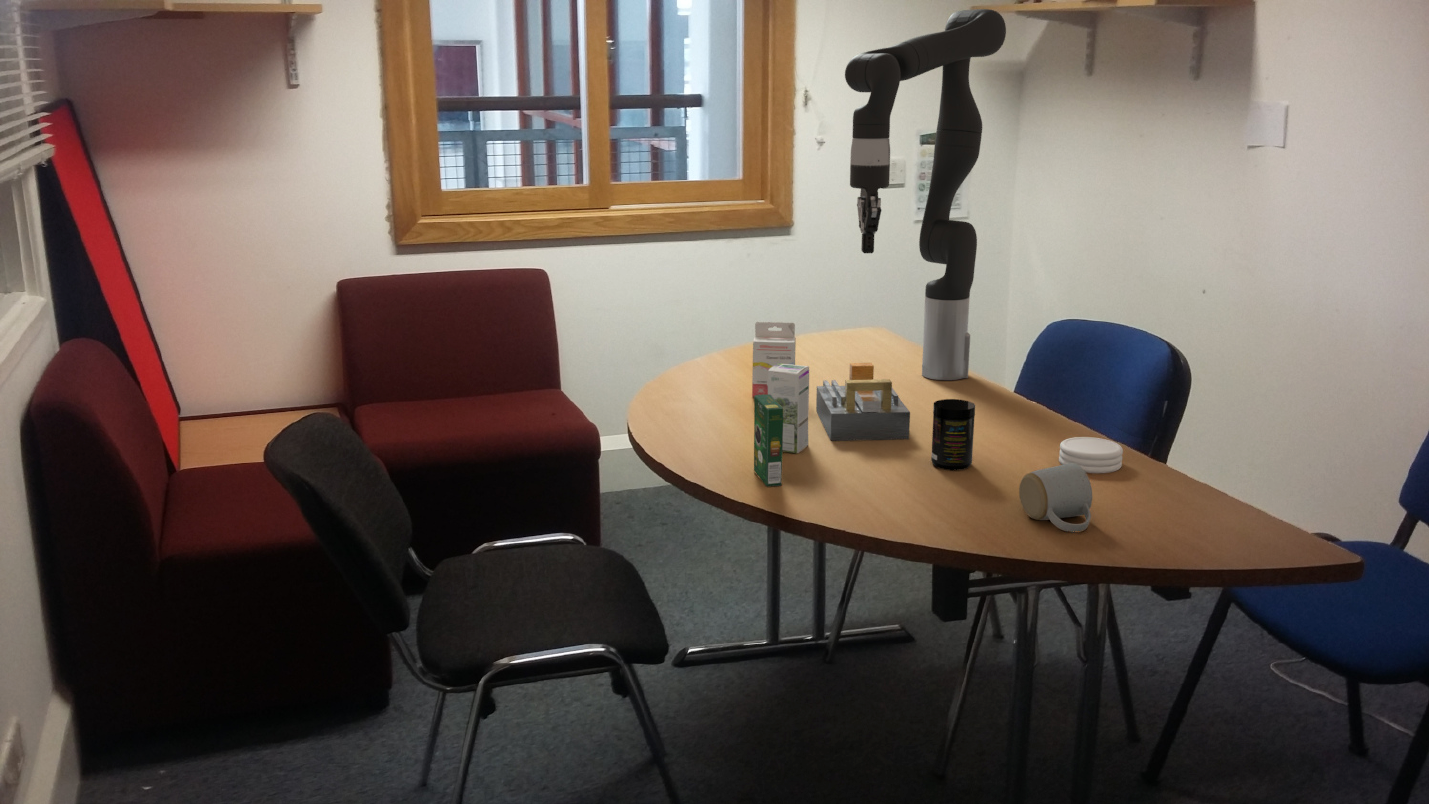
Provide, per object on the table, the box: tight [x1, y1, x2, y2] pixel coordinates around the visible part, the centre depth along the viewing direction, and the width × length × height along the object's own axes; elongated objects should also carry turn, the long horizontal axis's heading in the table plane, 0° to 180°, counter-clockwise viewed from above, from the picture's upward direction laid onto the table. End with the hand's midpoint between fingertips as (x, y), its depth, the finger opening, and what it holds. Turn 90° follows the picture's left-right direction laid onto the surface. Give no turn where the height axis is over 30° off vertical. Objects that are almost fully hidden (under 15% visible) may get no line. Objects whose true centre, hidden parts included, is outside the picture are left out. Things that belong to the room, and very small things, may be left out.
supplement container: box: [930, 398, 976, 471], centre depth 191 cm, size 7×7×10 cm
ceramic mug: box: [1018, 463, 1093, 533], centre depth 168 cm, size 11×8×8 cm
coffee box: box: [753, 395, 784, 488], centre depth 185 cm, size 8×3×13 cm, turn 13°
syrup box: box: [768, 363, 810, 454], centre depth 200 cm, size 6×6×14 cm
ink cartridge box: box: [751, 321, 797, 398], centre depth 234 cm, size 9×5×15 cm, turn 84°
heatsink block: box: [815, 378, 911, 442], centre depth 214 cm, size 14×19×10 cm
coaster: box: [1058, 436, 1124, 474], centre depth 193 cm, size 10×10×4 cm
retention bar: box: [848, 362, 880, 412], centre depth 209 cm, size 4×12×6 cm, turn 3°
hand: (867, 252), depth 227 cm, fingers closed
